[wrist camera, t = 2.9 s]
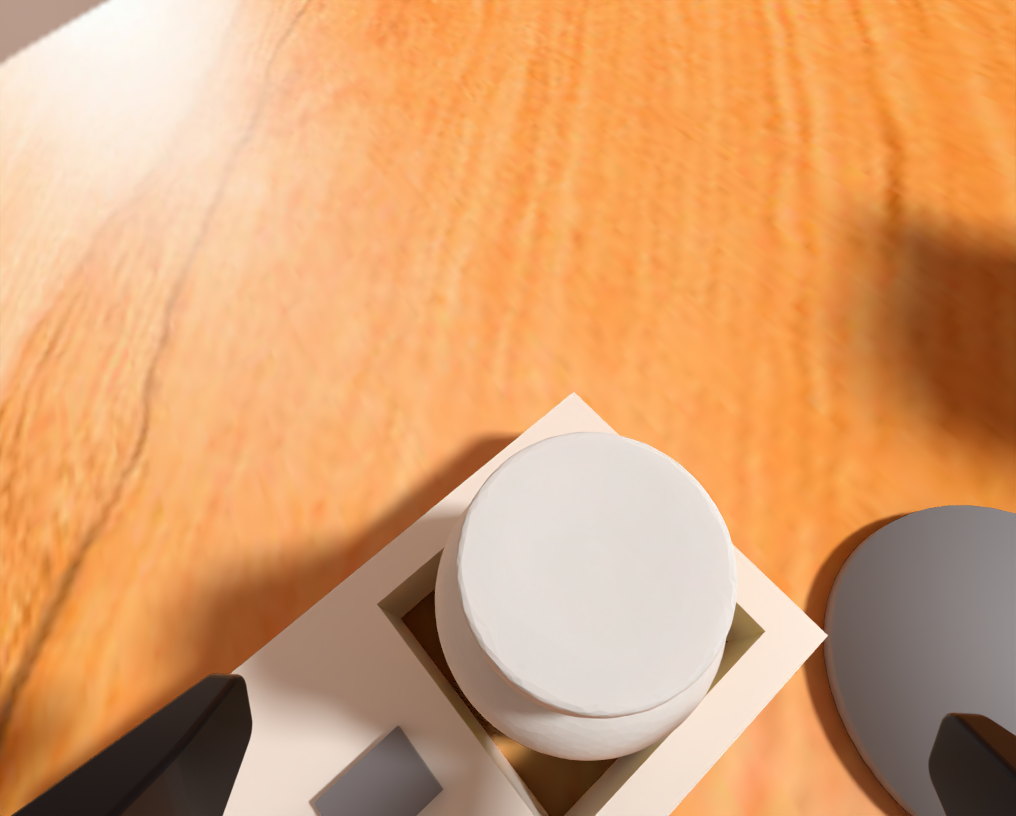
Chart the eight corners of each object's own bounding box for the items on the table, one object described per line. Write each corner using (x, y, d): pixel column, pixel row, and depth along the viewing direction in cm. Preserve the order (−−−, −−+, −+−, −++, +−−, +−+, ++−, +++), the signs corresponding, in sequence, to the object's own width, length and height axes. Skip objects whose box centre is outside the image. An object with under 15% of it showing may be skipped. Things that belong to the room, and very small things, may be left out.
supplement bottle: (570, 787, 16) (620, 902, 7) (427, 634, 17) (323, 572, 9) (696, 625, 17) (866, 552, 8) (553, 499, 19) (574, 331, 10)
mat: (1074, 984, 14) (1097, 996, 13) (755, 657, 17) (762, 656, 16) (1251, 692, 16) (1276, 693, 15) (942, 453, 19) (954, 445, 18)
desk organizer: (318, 1153, 13) (257, 1285, 10) (138, 795, 16) (50, 817, 13) (779, 645, 17) (831, 634, 14) (567, 433, 20) (574, 388, 17)
